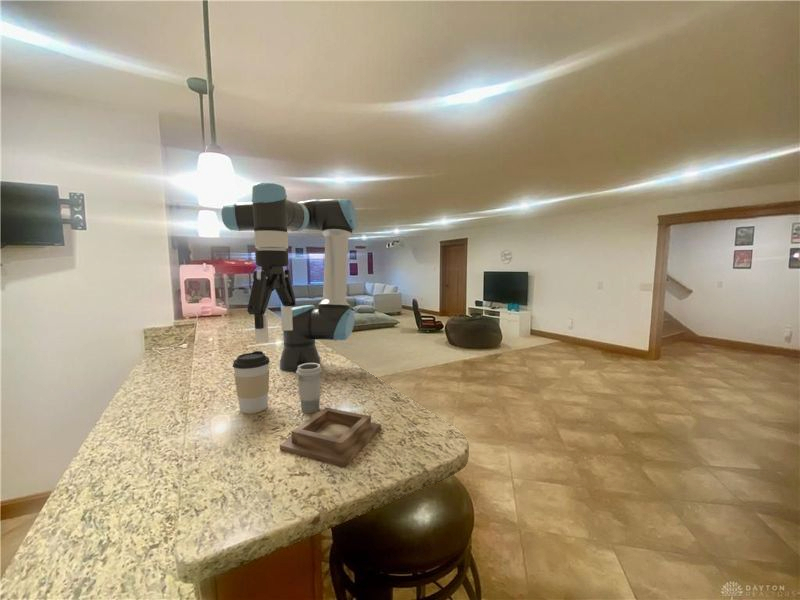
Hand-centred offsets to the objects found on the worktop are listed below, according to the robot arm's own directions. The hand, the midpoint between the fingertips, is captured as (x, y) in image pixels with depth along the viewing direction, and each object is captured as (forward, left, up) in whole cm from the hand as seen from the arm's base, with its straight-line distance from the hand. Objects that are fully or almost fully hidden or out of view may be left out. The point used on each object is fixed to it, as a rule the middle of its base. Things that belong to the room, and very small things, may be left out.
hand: (275, 335), depth 80 cm
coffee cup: (-1, -10, -21) cm, 24 cm away
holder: (+4, +19, -21) cm, 29 cm away
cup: (-6, +5, -21) cm, 23 cm away
